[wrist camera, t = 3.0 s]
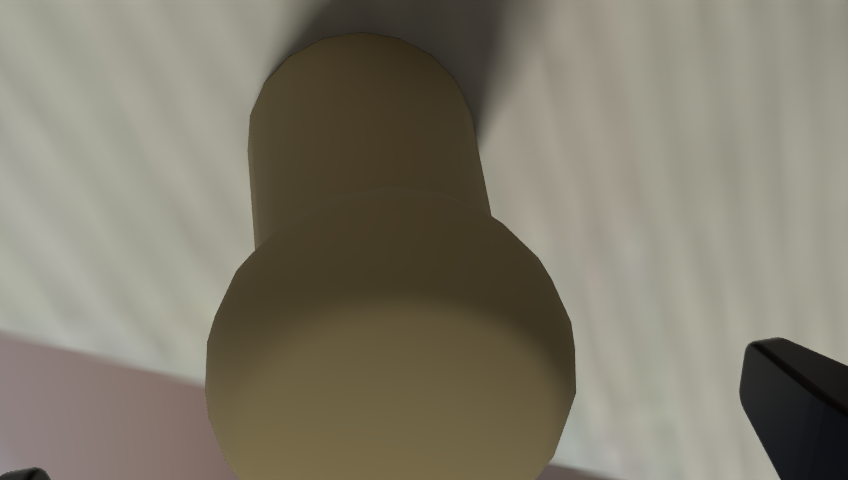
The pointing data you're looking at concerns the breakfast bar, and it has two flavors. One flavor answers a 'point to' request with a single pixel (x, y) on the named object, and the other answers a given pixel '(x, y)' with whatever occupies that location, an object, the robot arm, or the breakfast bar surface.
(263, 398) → the cork
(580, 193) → the breakfast bar surface
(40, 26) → the breakfast bar surface
